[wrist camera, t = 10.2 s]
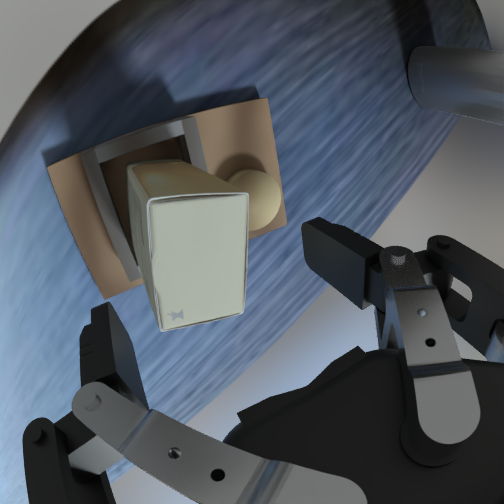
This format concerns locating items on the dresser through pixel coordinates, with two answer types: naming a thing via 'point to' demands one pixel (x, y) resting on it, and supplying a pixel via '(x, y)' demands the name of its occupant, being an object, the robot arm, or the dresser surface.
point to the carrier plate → (158, 148)
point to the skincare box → (188, 241)
